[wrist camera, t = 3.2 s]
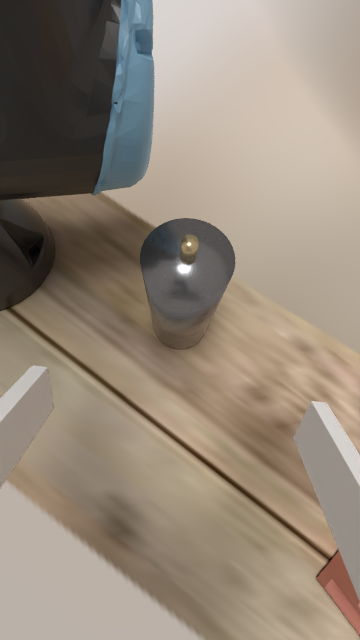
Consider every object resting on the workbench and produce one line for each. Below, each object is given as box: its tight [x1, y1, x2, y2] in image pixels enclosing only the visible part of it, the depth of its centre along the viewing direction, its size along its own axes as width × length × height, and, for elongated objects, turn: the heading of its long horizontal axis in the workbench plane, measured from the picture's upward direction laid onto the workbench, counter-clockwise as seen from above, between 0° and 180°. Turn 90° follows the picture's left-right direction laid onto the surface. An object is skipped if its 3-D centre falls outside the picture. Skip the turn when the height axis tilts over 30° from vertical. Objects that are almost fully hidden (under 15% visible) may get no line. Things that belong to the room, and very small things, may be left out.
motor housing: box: [140, 218, 235, 349], centre depth 22 cm, size 6×6×16 cm
